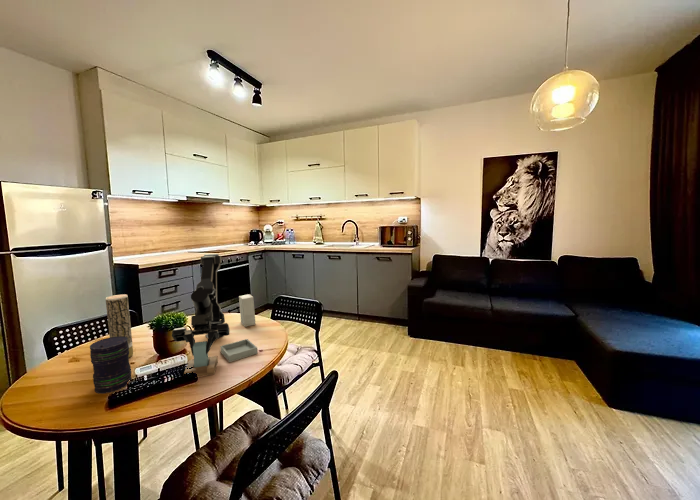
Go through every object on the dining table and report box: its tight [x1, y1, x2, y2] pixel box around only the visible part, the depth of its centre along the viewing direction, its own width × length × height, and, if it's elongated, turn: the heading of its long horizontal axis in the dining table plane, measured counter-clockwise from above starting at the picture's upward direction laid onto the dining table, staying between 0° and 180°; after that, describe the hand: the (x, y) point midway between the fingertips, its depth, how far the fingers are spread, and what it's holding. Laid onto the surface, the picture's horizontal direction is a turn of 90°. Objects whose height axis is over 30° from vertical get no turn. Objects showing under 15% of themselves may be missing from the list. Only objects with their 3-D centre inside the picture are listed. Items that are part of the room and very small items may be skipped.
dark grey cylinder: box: [89, 336, 133, 395], centre depth 96 cm, size 10×10×15 cm
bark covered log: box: [105, 293, 134, 358], centre depth 115 cm, size 7×7×25 cm
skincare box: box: [238, 293, 256, 328], centre depth 152 cm, size 8×6×15 cm
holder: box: [183, 355, 219, 378], centre depth 106 cm, size 9×9×2 cm
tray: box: [219, 338, 258, 363], centre depth 119 cm, size 11×11×3 cm
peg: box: [192, 340, 209, 368], centre depth 105 cm, size 4×4×10 cm
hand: (200, 354), depth 104 cm, fingers closed on peg, 4 cm apart
